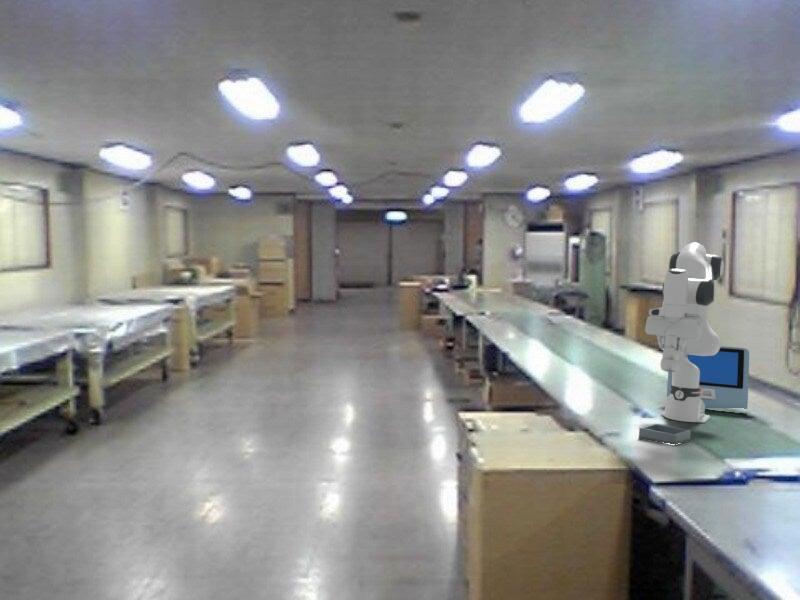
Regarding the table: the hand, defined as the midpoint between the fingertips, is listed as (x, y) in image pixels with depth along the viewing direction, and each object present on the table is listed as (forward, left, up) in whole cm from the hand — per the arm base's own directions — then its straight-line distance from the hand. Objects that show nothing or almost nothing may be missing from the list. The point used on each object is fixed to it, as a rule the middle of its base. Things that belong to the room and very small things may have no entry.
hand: (671, 349), depth 296 cm
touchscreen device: (-87, -17, -35) cm, 95 cm away
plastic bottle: (0, 0, -9) cm, 9 cm away
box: (0, 0, -34) cm, 34 cm away
